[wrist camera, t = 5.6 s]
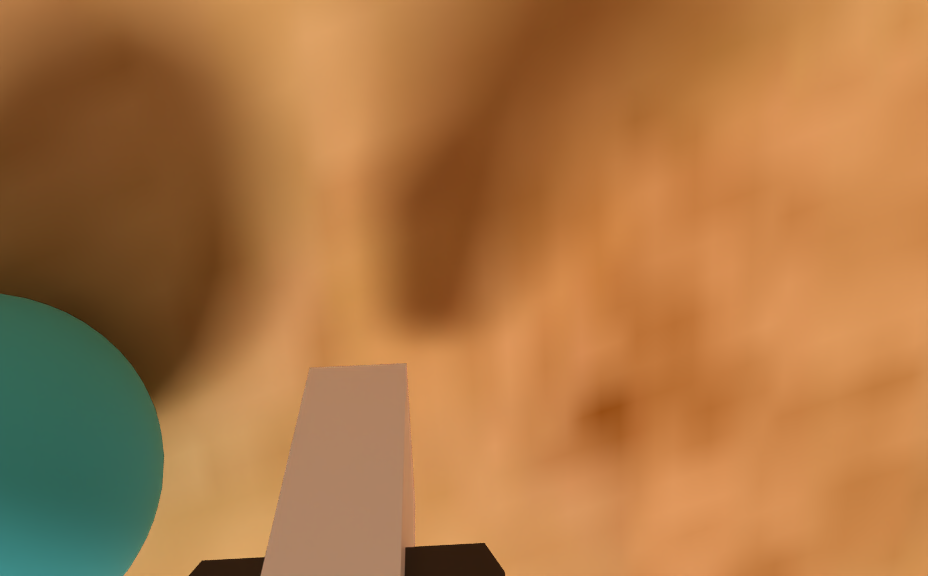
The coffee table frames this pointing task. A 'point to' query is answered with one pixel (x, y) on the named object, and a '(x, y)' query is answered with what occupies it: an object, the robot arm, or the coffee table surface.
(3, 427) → the ball
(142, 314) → the coffee table surface
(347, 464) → the robot arm
